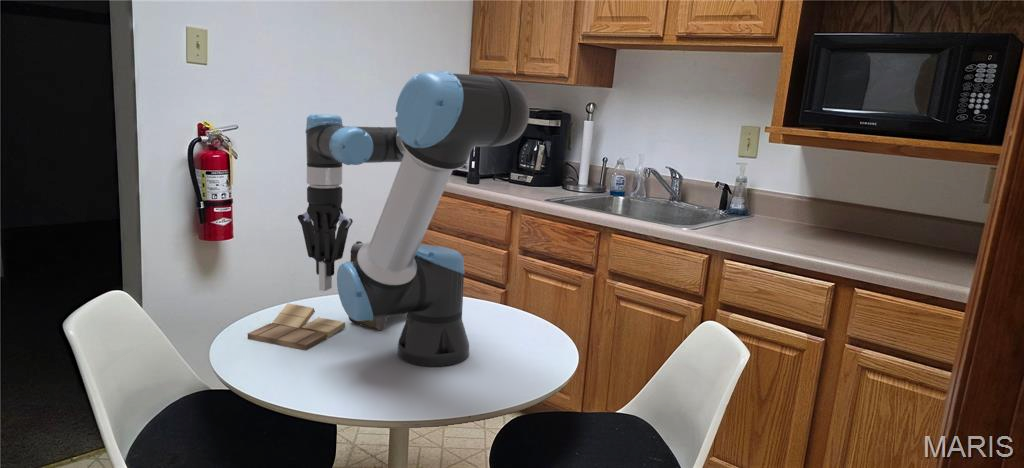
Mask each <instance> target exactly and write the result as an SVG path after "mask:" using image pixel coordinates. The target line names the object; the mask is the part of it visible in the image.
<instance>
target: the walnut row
mask: <svg viewBox="0 0 1024 468" xmlns="http://www.w3.org/2000/svg"><path fill="white" fill-rule="evenodd" d="M247 339H248V340H251V341H252V340H253V341H258V342H263V343H267V344H272V345H277V346H283V347H287V348H293V349H297V350H303V351H308V350H309V349H311V348H313V347H315V346H317V345H318V344H321V343H323V342H324V341H326V340H327V339H328V337H327V334H324V333H319V332H314V331H309V330H304V329H299V328H293V327H288V326H283V325H280V324H279V325H277V324H272V322H271V323H268V324H265V325H263V326H261V327H259V328H257V329H254V330H252V331H250V332H248V333H247Z"/></svg>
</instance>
